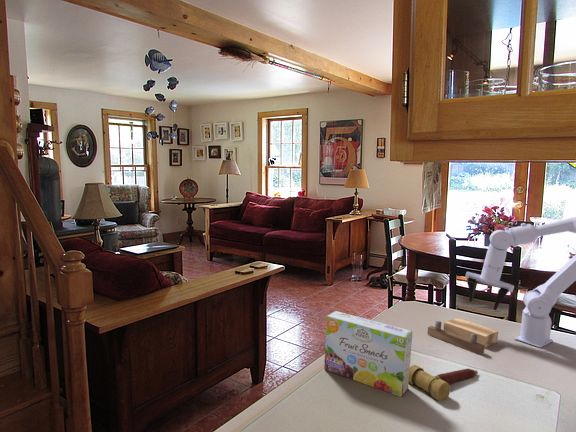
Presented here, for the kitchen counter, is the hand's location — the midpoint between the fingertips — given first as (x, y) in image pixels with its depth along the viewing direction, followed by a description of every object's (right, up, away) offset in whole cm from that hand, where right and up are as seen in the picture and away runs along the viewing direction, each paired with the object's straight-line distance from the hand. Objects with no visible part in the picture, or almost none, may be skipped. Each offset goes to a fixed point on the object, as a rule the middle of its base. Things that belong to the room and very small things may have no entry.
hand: (482, 305), depth 139 cm
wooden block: (-6, -10, -3) cm, 12 cm away
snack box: (-45, -12, -33) cm, 58 cm away
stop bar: (-13, -10, -8) cm, 18 cm away
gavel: (-24, -13, -33) cm, 43 cm away
